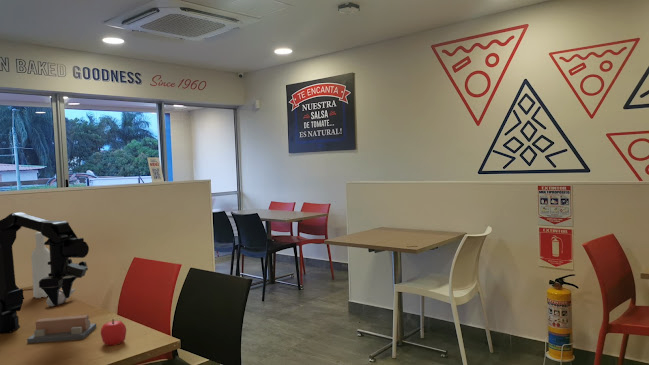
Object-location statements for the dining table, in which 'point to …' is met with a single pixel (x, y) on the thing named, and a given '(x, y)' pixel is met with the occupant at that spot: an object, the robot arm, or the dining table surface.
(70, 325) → the clay strip
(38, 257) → the bottle
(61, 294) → the ice cream cone
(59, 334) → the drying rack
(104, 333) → the apple
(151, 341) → the dining table surface
